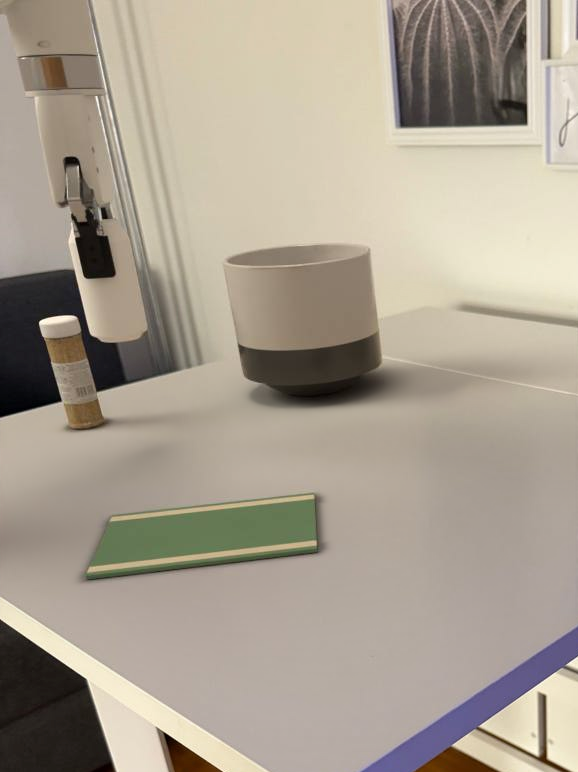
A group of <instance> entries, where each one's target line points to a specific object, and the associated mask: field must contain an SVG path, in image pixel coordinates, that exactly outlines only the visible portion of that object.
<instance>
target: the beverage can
mask: <svg viewBox="0 0 578 772" xmlns="http://www.w3.org/2000/svg"><path fill="white" fill-rule="evenodd" d="M94 221H95V220H94ZM102 223H103V230H104V236H108V239H109V243H110V248H111V253H112V257H113V262H114V266H115V271H116V275H115V276H114V277H112V278H97V279H86V278H85V277H84V276H83V272H82V267H81V263H80V259H79V255H78V250H77V246H76V242H75V235H74V231H73V225H72V222H71V223H70V227H71V230H70V234H69V237H68V241H67V243H68V247H69V251H70V252H69V253H70V256H71V261H72V265H73V268H74V273H75V277H76V283H77V286H78V290H79V294H80V298H81V299H80V300H81V303H82V307H83V310H84V315H85V320H86V324H87V327H88V331H89V335H91V336H92V337H93V338H97V339H98V340H99V341H100V342H102V343H124V342H130V341H135V340H139V339H140V338H141V337H142V335H143V334H144V333H145V332H147V331H148V322H147V316H146V310H145V307H144V306H145V305H144V302H143V297H142V291H141V287H140V283H139V277H138V272H137V267H136V264H135V257H134V253H133V248H132V243H131V239H130V236H129V235H128V233H127V232H126V231H125V229H124V228H123V227H122V225H121V221H120V219H117V218H115V219H102Z"/></svg>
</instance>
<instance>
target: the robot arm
mask: <svg viewBox="0 0 578 772" xmlns="http://www.w3.org/2000/svg"><path fill="white" fill-rule="evenodd" d="M89 8H90V7H89V4H88V0H0V15H5V16H6V20H7V24H8V27H9V32H10V35H11V40H12V44H13V49H14V52H15V56H16V60H17V64H18V67H19V73H20V76H21V81H22V85H23V90H24V94H25V98H26V99H34V107H35V115H36V123H37V128H38V133H39V140H40V144H41V149H42V156H43V161H44V165H45V170H46V175H47V181H48V185H49V190H50V195H51V199H52V203H53V204H54V205H55V206H56V207H57V208H59V209H65V208H68V207H69V211H70V219H71V223H72V225H73V231H74V235H75V242H76V246H77V250H78V255H79V259H80V263H81V267H82V272H83V276H84V277H85V278H86V279H97V278H112V277H114V276H115V275H116V271H115V266H114V262H113V257H112V253H111V248H110V243H109V239H108V236H104V230H103V223H102V219H116V216H115V211H114V208H113V205H112V201H114V199H115V198H116V187H115V181H114V180H115V179H114V175H113V168H112V165H111V164H112V163H111V158H110V154H109V149H108V144H107V140H106V136H105V132H104V127H103V123H102V117H101V114H100V110H99V106H98V102H97V98H96V97H104V96H107V91H106V87H105V81H104V77H103V72H102V71H103V70H102V66H101V63H100V58H99V53H98V48H97V47H98V46H97V42H96V37H95V32H94V27H93V23H92V17H91V13H90V9H89ZM94 220H95V221H94Z"/></svg>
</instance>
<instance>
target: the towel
mask: <svg viewBox="0 0 578 772" xmlns="http://www.w3.org/2000/svg"><path fill="white" fill-rule="evenodd" d="M315 496H316V495H315V492H308V493H307V492H306V493H298V494H290V495H289V494H288V495H282V496H281V495H280V496H279V495H278V496H272V497H271V496H270V497H261V498H253V499H245V500H244V499H243V500H237V501H235V500H234V501H228V502H227V501H226V502H217V503H208V504H199V505H191V506H183V507H171V508H164V509H163V508H162V509H155V510H145V511H137V512H130V513H129V512H128V513H119V514H112V515H111V516H110V519H109V522H108V524H107V527H106V528H105V531H104V533H103V536H102V538H101V539H100V542H99V545H98V547H97V549H96V552H95V554H94V556H93V558H92V561H91V562H90V566H89V567H88V569H87V571H86V573H85V578H86V580H96V579H105V578H112V577H121V576H130V575H137V574H146V573H156V572H162V571H163V572H164V571H170V570H171V571H172V570H180V569H188V568H189V569H190V568H197V567H204V566H212V565H213V566H214V565H221V564H230V563H237V562H238V563H239V562H248V561H254V560H262V559H272V558H280V557H281V558H282V557H288V556H297V555H305V554H312V553H313V554H314V553H318V550H319V549H318V534H317V515H316V513H317V512H316V497H315Z"/></svg>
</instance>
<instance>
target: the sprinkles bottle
mask: <svg viewBox="0 0 578 772" xmlns="http://www.w3.org/2000/svg"><path fill="white" fill-rule="evenodd" d="M38 325H39V330H40V333H41V337H43V340H44V341H45V344H46V348H47V351H48V355H49V359H50V363H51V368H52V370H53V374H54V377H55V381H56V385H57V387H58V392H59V395H60V399H61V402H62V404H63V407H64V411H65V414H66V417H67V421H68V422H67V425H68V426H69V427H70V428H71V429H75V430H79V429H80V430H84V429H93V428H95V427H98V426H101V425H103V423H104V422H105V417H104V415H103V413H102V409H101V405H100V401H99V398H98V397H99V396H98V392H97V388H96V384H95V380H94V377H93V374H92V371H91V367H90V362H89V359H88V356H87V353H86V349H85V346H84V342H83V338H82V328H81V325H80V321H79V318H78V316H75V315H57V316H51V317H46V318H44V319H41V320H40V321H39V323H38Z"/></svg>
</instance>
